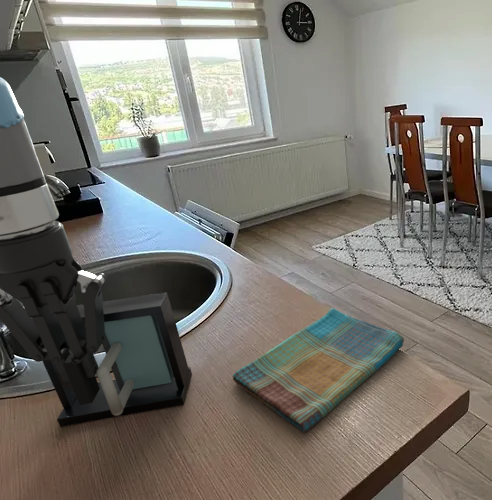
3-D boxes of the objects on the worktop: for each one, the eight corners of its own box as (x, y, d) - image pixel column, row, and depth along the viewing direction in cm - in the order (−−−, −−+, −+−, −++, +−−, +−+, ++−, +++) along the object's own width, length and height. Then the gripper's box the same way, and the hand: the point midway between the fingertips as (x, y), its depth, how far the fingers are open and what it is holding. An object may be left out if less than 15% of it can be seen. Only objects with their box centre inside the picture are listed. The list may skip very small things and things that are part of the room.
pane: (104, 425, 56) (74, 352, 51) (122, 387, 63) (97, 320, 58) (161, 415, 57) (137, 342, 52) (173, 379, 64) (152, 312, 59)
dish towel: (408, 347, 70) (407, 334, 69) (306, 437, 54) (304, 422, 53) (333, 315, 80) (332, 304, 79) (231, 383, 65) (228, 370, 64)
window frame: (60, 427, 59) (17, 334, 53) (80, 393, 65) (44, 307, 59) (184, 405, 61) (156, 313, 55) (192, 374, 67) (168, 289, 61)
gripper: (-72, 249, 41) (20, 427, 50) (69, 232, 43) (133, 407, 52) (-23, 225, 48) (51, 386, 57) (97, 211, 50) (149, 369, 59)
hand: (90, 396), depth 54 cm, fingers closed
